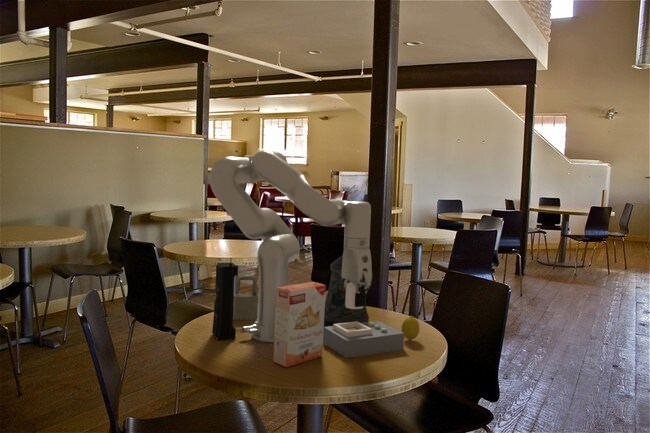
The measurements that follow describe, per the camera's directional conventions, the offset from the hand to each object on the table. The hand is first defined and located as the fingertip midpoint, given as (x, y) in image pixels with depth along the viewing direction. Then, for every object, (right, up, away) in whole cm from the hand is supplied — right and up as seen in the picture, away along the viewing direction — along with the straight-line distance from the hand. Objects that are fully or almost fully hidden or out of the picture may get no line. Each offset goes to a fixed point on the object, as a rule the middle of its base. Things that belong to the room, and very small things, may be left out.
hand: (354, 303), depth 156 cm
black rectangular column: (-40, -12, +7) cm, 42 cm away
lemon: (+18, -14, +10) cm, 25 cm away
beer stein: (-2, -12, +26) cm, 28 cm away
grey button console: (+3, -13, +3) cm, 14 cm away
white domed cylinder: (0, -1, 0) cm, 1 cm away
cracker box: (-16, -14, -11) cm, 24 cm away
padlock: (-37, -10, +27) cm, 47 cm away
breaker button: (-1, -11, +1) cm, 11 cm away
